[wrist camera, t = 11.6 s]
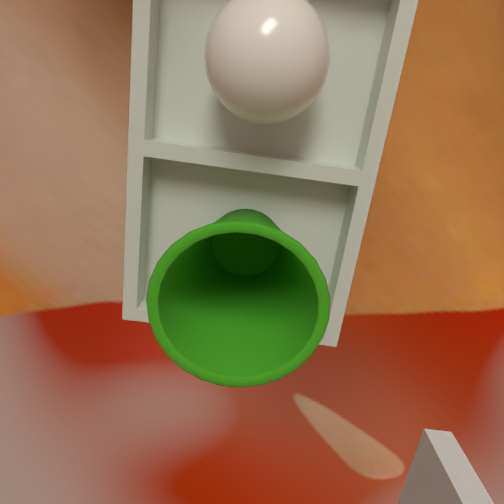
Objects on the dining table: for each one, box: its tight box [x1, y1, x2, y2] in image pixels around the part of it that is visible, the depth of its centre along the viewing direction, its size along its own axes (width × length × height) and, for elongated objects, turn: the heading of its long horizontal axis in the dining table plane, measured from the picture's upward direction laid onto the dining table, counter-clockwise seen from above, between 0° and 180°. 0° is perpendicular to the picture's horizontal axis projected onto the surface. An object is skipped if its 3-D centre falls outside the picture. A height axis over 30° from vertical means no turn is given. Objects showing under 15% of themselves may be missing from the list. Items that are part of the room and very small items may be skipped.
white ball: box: [204, 0, 330, 124], centre depth 23 cm, size 7×7×7 cm
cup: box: [146, 209, 330, 387], centre depth 25 cm, size 9×9×11 cm
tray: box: [122, 0, 418, 347], centre depth 28 cm, size 16×25×3 cm, turn 172°
